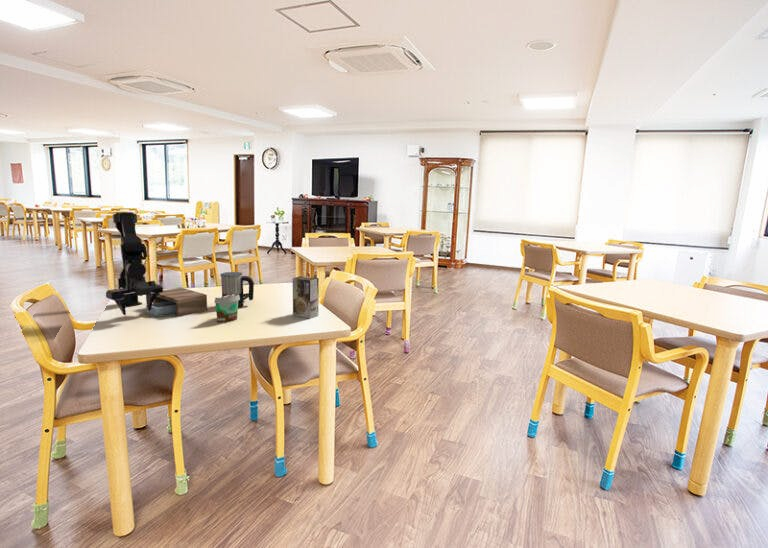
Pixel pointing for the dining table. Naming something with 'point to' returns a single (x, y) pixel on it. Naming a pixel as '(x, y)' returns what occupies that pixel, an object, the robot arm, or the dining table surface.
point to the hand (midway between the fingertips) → (136, 312)
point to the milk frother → (236, 285)
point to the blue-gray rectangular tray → (162, 308)
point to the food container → (227, 307)
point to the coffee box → (305, 296)
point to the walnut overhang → (184, 300)
